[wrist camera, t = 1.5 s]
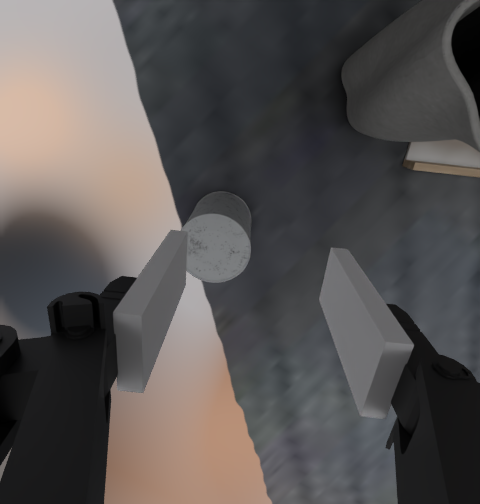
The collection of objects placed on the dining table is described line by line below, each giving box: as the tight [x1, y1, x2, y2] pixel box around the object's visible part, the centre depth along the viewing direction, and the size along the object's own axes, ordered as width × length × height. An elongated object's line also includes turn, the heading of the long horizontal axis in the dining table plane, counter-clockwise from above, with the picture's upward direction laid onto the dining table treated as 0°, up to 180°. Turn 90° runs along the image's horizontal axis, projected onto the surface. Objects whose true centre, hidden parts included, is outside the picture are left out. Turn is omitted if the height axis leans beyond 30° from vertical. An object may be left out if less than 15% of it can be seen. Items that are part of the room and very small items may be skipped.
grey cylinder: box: [181, 191, 251, 283], centre depth 47 cm, size 10×10×12 cm
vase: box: [341, 0, 480, 152], centre depth 31 cm, size 12×12×30 cm
